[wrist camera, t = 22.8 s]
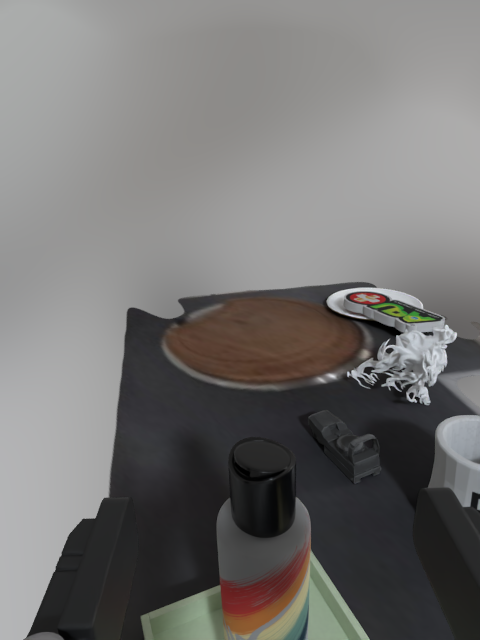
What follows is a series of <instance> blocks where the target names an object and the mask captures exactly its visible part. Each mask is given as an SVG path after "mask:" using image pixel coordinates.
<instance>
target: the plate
mask: <svg viewBox="0 0 480 640" xmlns="http://www.w3.org/2000/svg"><path fill="white" fill-rule="evenodd" d="M357 291H371V292H378V293H382V294H385V295H388V296H390V297H391V298H392V300H400V301H403V302H405V303H408V304H411V305H413V306H416V307H419V308H421V309H423V304H422V303H421V302H420V301H419V299H417V298H415V297H413V296H412V295H409V294H406V293H403V292H399V291H394V290H389V289H382V288H354V289H347V290H342V291H339V292H336V293H334V294H332V295H331V296H329V297H328V299H327V301H326V302H327V305H328V307H329V308H331V309H332V310H333V311H335V312H337V313H339V314H341V315H344V316H347V317H351V318H355V319H361V320H369V321H376V320H374V319H372V318H369V317H367V316H365V315H364V314H362V313H356V312H352V311H350V310H348V309H346V308H345V307H344V305H343V304H344V296H345V295H346V294H348V293H351V292H357Z"/></svg>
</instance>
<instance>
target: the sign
mask: <svg viewBox="0 0 480 640" xmlns="http://www.w3.org/2000/svg"><path fill="white" fill-rule="evenodd" d="M343 305H344V307H345V308H346V309H348V310H350V311H352V312H356V313H362V314H364V315H365V316H367V317H369V318H372V319H374V320H376V321H378V322H380V323H382V324H385V325H388V326H391V327H395V328H396V329H397V330H399V331H400V332H403V333H405V330H406V329H407V331H408V332H410V331H412V330H416V331H419V332H431V331H432V328H433V327H439V328H444V322H445V318H444V317H443V316H440V315H438V314H435V313H432V312H430V311H427V310H424V309H421V308H419V307H416V306H413V305H411V304H408V303H405V302H403V301H400V300H392V298H391V297H390V296H388V295H385V294H382V293H378V292H371V291H357V292H351V293H348V294H346V295H345V296H344V304H343Z"/></svg>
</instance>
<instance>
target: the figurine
mask: <svg viewBox="0 0 480 640" xmlns="http://www.w3.org/2000/svg"><path fill="white" fill-rule="evenodd" d="M432 331H433V333H434V336H431V335H430V336H425V335H424V334H423V333H421V332H419V331H416V330H412V331H410V332H408V331H407V329H406V330H405V333H403V334H401V335H399V336H398V335H396V346H395V345H389V346H387V347H385V346H386V344H387V342H388V341H389V340H390V339H389V340H388V341H387V342H386V343H385V342H384V343H385V344H384V343H383V344H382V345H381V346H380V348H379V351H378V360H379V361H373V359H374V358H371V359H369V360H367V361H365V362H364V363H362V364H361V365H360V366H359V367H357V368H356V369H355V367H354V370H352V371H351V374H352V375H351V374H350V373H349V372H347V377H349V375H350V376H352V377H353V378H355V379H356V380H357V381H358V382H359V384H360V385H361V386H363V385H362V384H361V383H360V381H359V380H358V379H357V377H362V378H364V380H365V381H366V382H367V383H369V382H368V381H369V380H368V379H366V378H365V377H364V376H363V375H366V376H368V378H369V379H370V378H371V377H372V378H373V376H372V375H373V374H374V373H371V374H370V375H371V376H370V375H368V374H366V373H363V371H364V368H365V367H375V370H372V371H371V372H377V373H383V372H384V371H386V370H389V368H391V367H394V366H397V367H394V368H397V369H393V370H401V369H402V368H406V369H405V370H402V371H403V372H402V373H400V372H396V371H393V370H389V371H391V372H393V373H394V375H393V374H390V373H386V374H388V375H390V376H392V377H390V378H387V380H386V384H383V385H382V387H383V386H388V388H389V390H390V387H389V386H394V387H395V388H396V389H397V390H398V391H400V390H399V389H398V388H397V386H396V385H395V381H397V383H398V382H399V383H400V384H401V388H402V389H403V387H405V386H404V385H407V384H413V385H412V387H410V388H409V389H408V393H407V392H406V394H407V397H408V398H407V400H408V399H409V400H408V401H410V402H414V401H415V403H417V401H416V399H414V398H415V396H416V397H419V398H420V403H421V404H423V403H422V401H423V402H424V404H425V405H429V404H427V403H430V398H429V396H428V390H427V388H426V387H424V384H425V382H427V380H428V385H429V387H430V386H431V385H432V386H433V384H434V383H435V382H436V379H437V374H439V373H440V372H441V369H442V371H443V365H445V367H446V365H447V355H446V351H445V348H446V347H447V345H445V344H447V343H451V342H453V341H454V340H455V339H456V337H457V333H456V332H453V331H452V329H449V328H448V326H447V325H445V326H444V329H442V328H439V327H433V328H432ZM383 345H384V346H383ZM382 346H383V348H382ZM387 348H393V349H394V351H393V352H392V353H391V354H388V353H386V351H385V350H386V349H387ZM381 349H382V351H381ZM395 353H396V354H395ZM356 370H357V371H356ZM411 370H413V372H409V371H411ZM439 370H440V371H439ZM428 373H429V376H428V375H427V374H428ZM361 374H363V375H361ZM374 375H375V376H376V377H377V375H376V374H374ZM426 376H427V377H426ZM372 378H371V379H372ZM377 378H378V377H377ZM371 379H370V380H371ZM367 380H368V381H367ZM372 380H374V381H376V380H375V379H374V378H373V379H372ZM372 380H371V381H372ZM379 380H380V379H379ZM400 380H407V382H404V383H401V381H400ZM371 381H370V382H371ZM374 381H372V383H375V382H374ZM389 381H390V382H389ZM376 382H377V381H376ZM369 384H371V383H369ZM371 385H373V384H371ZM363 387H365V386H363ZM366 388H368V387H366ZM418 390H419V392H418ZM390 391H391V390H390ZM400 392H402V391H400ZM411 392H413V393H414V396H413V398H412V399H410V398H409V393H411ZM417 392H418V394H417ZM420 396H421V397H420Z"/></svg>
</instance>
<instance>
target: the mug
mask: <svg viewBox="0 0 480 640" xmlns="http://www.w3.org/2000/svg"><path fill="white" fill-rule="evenodd" d="M441 487H449V488H450V489H452V490H453V492H454V493H455V495H456V497H457V498H458V500H459V501H460V503H461V505H462V506H463V507H473V508H475V509H476V510H477V511H478V512H479V513H480V416H476V415H462V416H454V417H451V418H448V419H446V420H444V421H443V422H442V423H440V424H439V425H438V427H437V429H436V431H435V460H434V465H433V470H432V476H431V480H430V483H429V486H428V488H441Z"/></svg>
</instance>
